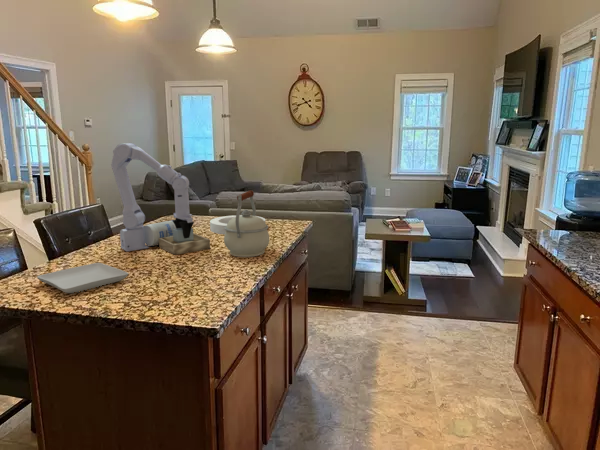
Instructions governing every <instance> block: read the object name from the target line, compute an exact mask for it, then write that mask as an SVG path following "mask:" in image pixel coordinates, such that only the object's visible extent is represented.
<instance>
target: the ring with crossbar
mask: <svg viewBox="0 0 600 450" xmlns="http://www.w3.org/2000/svg"><path fill="white" fill-rule="evenodd" d="M240 216H242V214H240ZM250 216H252V214H250ZM235 217H236V215H226V216H225V215H224V216H219V217H213V218H212V219H210V221H209V227H210V232H211V233H213V234H219V235H225V232H226V230H225V226H227V224H228V222H229V221H230V220H231V219H233V218H235ZM256 217H259V218H261V219H263V220H264V221H265V222H266V218H265V217H263V216H258V215H256Z"/></svg>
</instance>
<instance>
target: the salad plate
mask: <svg viewBox="0 0 600 450" xmlns="http://www.w3.org/2000/svg"><path fill="white" fill-rule="evenodd" d="M128 276H129V272H127V271H125V270H122V269H120V268H116V267H114V266H111V265H108V264H106V263H105V264H104V263H102V262H94V263H90V264H83V265H80V266H74V267H70V268H65V269H62V270H56V271H53V272H48V273H44V274H39V275H37V276H36V277H37V280H39V281H41V282H42V283H44V284H47V285H49V286H52V287H53V288H56V289H58V290H60V291H62V292H64V293H65V294H75V293H74V292H77V293H80V292H79V291H81V292H84V291H83V290H85V291H88V290H87V289H89V290H92V289H91V288H93V289H96V288H95V287H97V288H100V287H103V286H102V285H104V286H107V285H106V284H108V285H111V284H115V283H117V282H120V281H122V280H124V279H125V278H127V277H128ZM110 283H111V284H110ZM99 286H100V287H99Z"/></svg>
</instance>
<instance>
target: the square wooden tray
mask: <svg viewBox="0 0 600 450" xmlns="http://www.w3.org/2000/svg"><path fill="white" fill-rule="evenodd" d="M193 236H194V240H192V241H186V242H180V243H178V242H175V241H173V236H170V237H163V238H159V245H158V247H159V248H160V249H162V250H164V251H166V252H167V253H170V254H172V255H173V256H176V255H181V254H182V255H183V254H186V253H187V254H188V253H193V252H200V251H205V250H209V249H211V239H210V238H207V237H204V236H202V235H199V234H197V233H195V232H193Z"/></svg>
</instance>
